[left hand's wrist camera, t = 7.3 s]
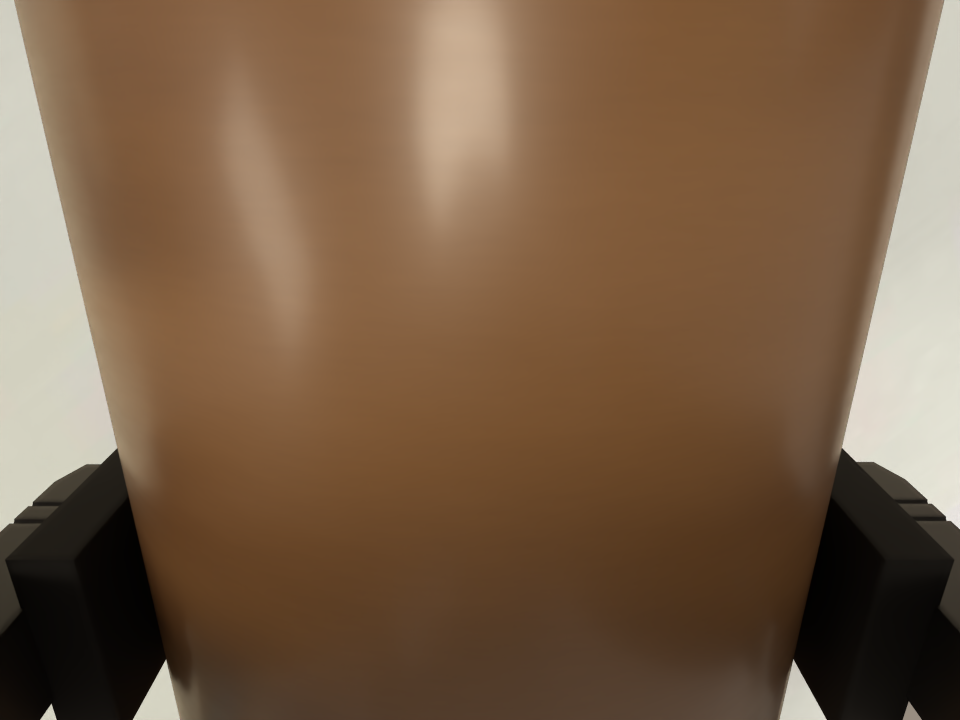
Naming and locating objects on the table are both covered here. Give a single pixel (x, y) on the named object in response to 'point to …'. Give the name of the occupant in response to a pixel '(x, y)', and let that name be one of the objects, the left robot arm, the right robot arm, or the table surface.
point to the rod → (479, 333)
